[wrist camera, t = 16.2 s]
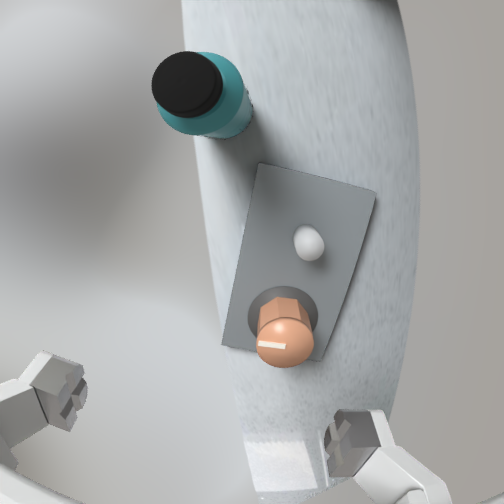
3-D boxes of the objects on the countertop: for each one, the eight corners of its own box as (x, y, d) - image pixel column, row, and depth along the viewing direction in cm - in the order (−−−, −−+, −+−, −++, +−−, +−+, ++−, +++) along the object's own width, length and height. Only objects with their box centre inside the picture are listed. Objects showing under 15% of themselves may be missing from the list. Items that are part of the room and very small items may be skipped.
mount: (258, 162, 36) (258, 165, 30) (371, 190, 37) (389, 198, 31) (222, 336, 44) (217, 363, 38) (318, 353, 44) (324, 379, 39)
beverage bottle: (265, 115, 34) (268, 81, 15) (222, 152, 36) (176, 159, 17) (228, 75, 33) (192, 8, 14) (185, 112, 34) (108, 85, 16)
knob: (312, 299, 39) (320, 326, 33) (301, 341, 41) (306, 371, 35) (261, 293, 39) (261, 319, 33) (253, 336, 41) (252, 365, 35)
